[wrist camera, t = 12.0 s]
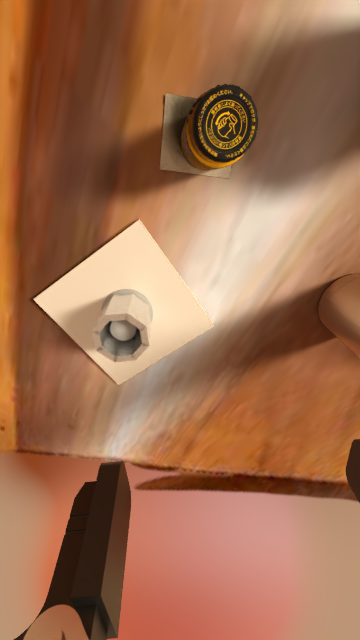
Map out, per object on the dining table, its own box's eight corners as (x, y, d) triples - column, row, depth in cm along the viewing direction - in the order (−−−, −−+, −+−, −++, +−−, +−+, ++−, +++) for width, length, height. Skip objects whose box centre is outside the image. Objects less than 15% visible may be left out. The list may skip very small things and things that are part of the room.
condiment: (229, 178, 36) (257, 178, 25) (159, 169, 35) (157, 164, 24) (241, 106, 33) (280, 69, 22) (165, 94, 32) (166, 49, 21)
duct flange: (213, 323, 44) (220, 343, 38) (119, 381, 48) (113, 407, 42) (139, 219, 37) (135, 225, 32) (36, 296, 41) (16, 314, 35)
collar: (147, 290, 40) (144, 311, 34) (153, 332, 43) (151, 358, 36) (100, 295, 40) (88, 316, 33) (108, 336, 43) (99, 363, 36)
